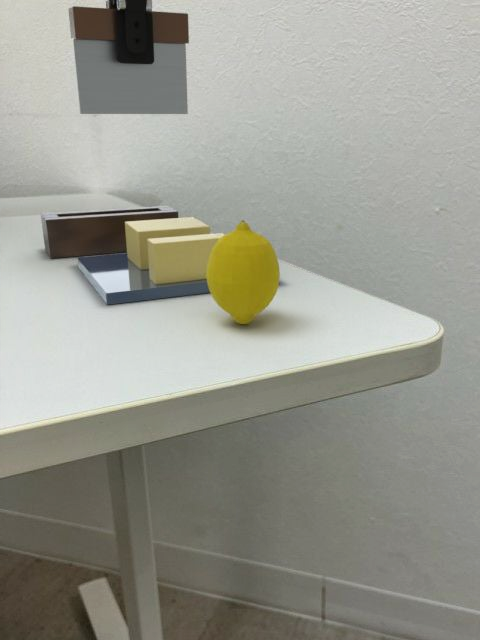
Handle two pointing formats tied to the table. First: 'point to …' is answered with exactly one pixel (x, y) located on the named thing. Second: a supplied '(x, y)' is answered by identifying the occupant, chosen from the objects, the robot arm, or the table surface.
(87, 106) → the scraper
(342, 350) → the table surface
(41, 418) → the table surface
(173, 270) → the butter slice
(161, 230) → the butter block
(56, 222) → the scraper holder
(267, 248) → the fruit
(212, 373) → the table surface
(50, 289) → the table surface
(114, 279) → the butter dish
